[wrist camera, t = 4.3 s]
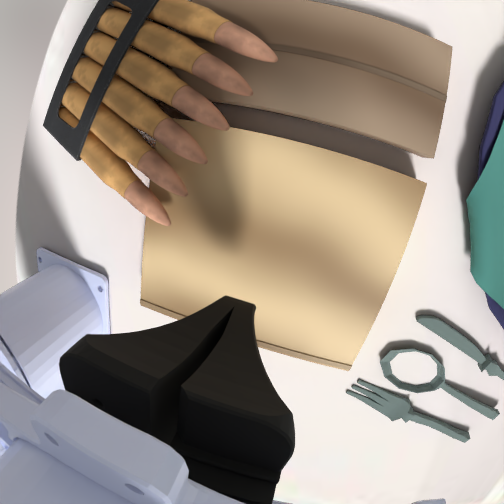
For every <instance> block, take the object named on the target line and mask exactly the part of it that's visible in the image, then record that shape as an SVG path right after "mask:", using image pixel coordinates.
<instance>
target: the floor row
mask: <svg viewBox="0 0 504 504" xmlns="http://www.w3.org/2000/svg"><path fill="white" fill-rule="evenodd" d="M191 2H193V3H196V4H199V5H202V6H204V7H207V8H209V9H211V10H212V11H214V12H215V13H217V14H218V15H219V16H221V17H223V18H225V19H227V20H229V21H231V22H232V23H234V24H236V25H238V26H240V27H242V28H244V29H246V30H248V31H249V32H251V33H253V34H254V35H256V36H257V37H258V38H260V39H261V40H262V41H263V42H265V43H266V44H267V45H268V46H269V47H270V48H271V49H272V50H273V52H274V53H275V54H276V56H277V58H278V61H277V62H265V61H261V60H257V59H253V58H250V57H247V56H244V55H241V54H239V53H236V52H234V51H231V50H229V49H227V48H225V47H223V46H221V45H218V44H215V43H213V42H210V41H208V40H206V39H202V38H198V37H193V36H190V35H187V34H185V33H183V32H181V34H182V35H184V36H186V37H188V38H190V39H191V40H192V41H193V42H194V43H196V44H197V45H198V46H199V47H201V48H203V49H204V50H206V51H208V52H209V53H211V54H212V55H213V56H215V57H217V58H219V59H220V60H222V61H224V62H225V63H226V64H228V65H229V66H230V67H232V68H233V69H234V70H235V71H237V72H238V73H239V74H240V75H241V76H242V77H243V78H244V79H245V81H246V82H247V83H248V84H249V86H250V87H251V89H252V91H253V95H252V96H243V95H238V94H235V93H231V92H228V91H225V90H223V89H220V88H218V87H216V86H214V85H212V84H209V83H207V82H206V81H204V80H202V79H200V78H199V77H197V76H194V75H192V74H190V73H188V72H186V71H184V70H182V69H178V68H174V67H171V70H172V71H173V72H174V73H175V74H176V75H177V76H178V77H179V78H180V79H181V80H183V81H184V82H186V83H187V84H188V85H190V86H191V87H192V88H193V89H195V90H196V91H198V92H199V93H200V94H202V95H203V96H204V97H206V98H207V99H208V100H209V101H211V102H218V103H225V104H232V105H238V106H244V107H249V108H255V109H260V110H265V111H270V112H275V113H280V114H284V115H289V116H293V117H297V118H301V119H306V120H310V121H314V122H317V123H321V124H325V125H329V126H332V127H336V128H339V129H343V130H346V131H349V132H353V133H356V134H359V135H362V136H365V137H368V138H372V139H375V140H377V141H380V142H383V143H386V144H389V145H392V146H395V147H397V148H400V149H403V150H405V151H408V152H411V153H413V154H416V155H418V156H421V157H425V158H434V155H435V151H436V147H437V142H438V138H439V133H440V129H441V124H442V119H443V113H444V108H445V102H446V99H447V89H448V82H449V74H450V66H451V56H452V46H450V45H447V44H445V43H443V42H441V41H439V40H437V39H434V38H432V37H430V36H428V35H425V34H423V33H420V32H418V31H416V30H413V29H410V28H408V27H405V26H402V25H400V24H397V23H394V22H391V21H388V20H385V19H382V18H379V17H376V16H372V15H369V14H366V13H362V12H359V11H355V10H351V9H347V8H343V7H339V6H334V5H330V4H325V3H320V2H314V1H309V0H191Z"/></svg>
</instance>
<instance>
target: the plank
mask: <svg viewBox="0 0 504 504" xmlns="http://www.w3.org/2000/svg"><path fill="white" fill-rule="evenodd" d="M172 119H173V120H174V121H175V122H177V123H178V124H179V125H180V126H182V127H183V128H184V129H185V130H186V131H187V132H188V133H189V134H190V135H191V136H192V137H193V138H194V139H195V140H196V142H197V143H198V144H199V146H200V147H201V148H202V150H203V151H204V153H205V155H206V157H207V160H208V163H207V164H199V163H196V162H192V161H190V160H188V159H186V158H183V157H181V156H179V155H178V154H176V153H174V152H173V151H171V150H169V149H168V148H166V147H165V146H164V145H162V144H161V143H160V142H159V141H157V140H156V144H155V151H156V152H157V153H158V154H159V155H160V156H162V157H163V158H164V159H165V160H166V161H167V162H168V163H169V164H170V166H171V167H172V168H173V169H174V170H175V171H176V173H177V174H178V175H179V177H180V178H181V180H182V181H183V183H184V184H185V186H186V189H187V191H188V195H187V196H186V197H183V196H179V195H176V194H174V193H172V192H170V191H167V190H166V189H164V188H162V187H160V186H159V185H157V184H156V183H155V182H153V181H152V180H150V185H149V189H150V190H151V191H152V192H153V194H154V195H155V196H156V197H157V198H158V200H159V201H160V202H161V204H162V205H163V207H164V208H165V210H166V212H167V213H168V215H169V218H170V220H171V225H170V226H165V225H162V224H160V223H157V222H156V221H154V220H152V219H150V218H149V217H147V216H146V221H145V232H144V245H143V260H142V278H141V299H140V304H141V305H142V306H144V307H147V308H149V309H152V310H154V311H157V312H159V313H162V314H164V315H167V316H170V317H172V318H175V319H178V320H180V319H183V318H185V317H187V316H189V315H191V314H193V313H195V312H197V311H199V310H201V309H203V308H205V307H206V306H208V305H210V304H212V303H213V302H215V301H217V300H218V299H220V298H222V297H223V296H225V295H227V296H230V297H233V298H236V299H240V300H243V301H246V302H249V303H253V304H255V306H256V311H255V315H254V325H255V335H256V341H257V345H258V347H260V348H264V349H267V350H270V351H274V352H277V353H281V354H284V355H288V356H291V357H295V358H299V359H302V360H306V361H310V362H314V363H318V364H321V365H325V366H329V367H334V368H338V369H342V370H346V371H349V370H350V369H351V367H352V364H353V362H354V360H355V359H356V357H357V355H358V353H359V351H360V349H361V347H362V345H363V343H364V341H365V339H366V337H367V335H368V333H369V331H370V329H371V327H372V325H373V323H374V321H375V319H376V317H377V315H378V313H379V311H380V308H381V306H382V304H383V302H384V300H385V297H386V295H387V293H388V291H389V288H390V286H391V284H392V281H393V279H394V276H395V274H396V272H397V269H398V267H399V264H400V262H401V259H402V256H403V254H404V251H405V249H406V246H407V243H408V240H409V238H410V235H411V232H412V229H413V226H414V223H415V220H416V218H417V214H418V211H419V208H420V205H421V202H422V199H423V196H424V192H425V189H426V185H427V183H425V182H422V181H420V180H417V179H415V178H412V177H409V176H407V175H404V174H401V173H398V172H396V171H393V170H390V169H387V168H384V167H382V166H379V165H376V164H373V163H370V162H367V161H363V160H360V159H357V158H354V157H351V156H347V155H344V154H341V153H337V152H334V151H331V150H327V149H323V148H320V147H316V146H312V145H309V144H305V143H301V142H297V141H293V140H289V139H285V138H280V137H276V136H272V135H267V134H263V133H258V132H253V131H248V130H243V129H238V128H233V127H230V128H229V130H227V131H223V130H218V129H214V128H212V127H209V126H206V125H204V124H202V123H200V122H197V121H190V120H183V119H175V118H172Z"/></svg>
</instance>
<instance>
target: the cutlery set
mask: <svg viewBox="0 0 504 504" xmlns="http://www.w3.org/2000/svg"><path fill="white" fill-rule="evenodd" d="M466 202H467V208H468V218H469V223H470V240H471V267H470V272H471V273H472V275H473V277H474V279H475V281H476V283H477V284H478V285H479V286H480V287H481V288H482V289H483V290H484V291H485V294H486V298H487V302H488V306H489V309H490V310H491V311H492V313H493V314H494V316H495V317H496V319H497V320H498V322H499V323H500V325H501V326H502V328H503V329H504V82H503V83H502V85H501V86H500V88H499V89H498V91H497V92H496V94H495V95H494V97H493V101H492V105H491V109H490V113H489V117H488V121H487V124H486V128H485V131H484V135H483V138H482V141H481V145H480V151H479V166H478V178H477V183H476V184H475V186H474V188H473V189H472V191H471V192H470V194H469V196H468V198H467V199H466ZM416 320H417V322H419V323H420V324H422V325H423V326H425V327H426V328H428V329H429V330H431V331H432V332H434V333H435V334H437V335H438V336H440V337H442V338H443V339H444V340H446V341H447V342H449V343H450V344H452V345H453V346H455V347H456V348H458V349H459V350H461V351H462V352H464V353H465V354H467V355H468V356H470V357H471V358H473V359H474V360H476V361H477V362H478V366H479V368H480V370H481V372H482V371H483V370H484V369H485V370H487V372H488V374H489V376H498V377H500V378H501V379H503V380H504V371H502V370H501V369H500V367H499V365H498V364H497V362H496V360H492V358H491V357H490V355H489V353H488V354H486V355H485V356H484V355H483V354H482V352H481V351H480V350H479V349H478V348H477V347H476V345H475V344H474V343H473V342H471V341H470V340H469V339H468V338H466V337H465V336H464V335H462V334H461V333H460V332H458V331H457V330H456V329H454V328H453V327H451V326H450V325H448V324H447V323H445V322H444V321H442V320H441V319H439V318H437V317H435V316H431V315H420V316H417V317H416ZM412 351H417V352H420V353H423V354H427V355H430V356H431V358H432V359H433V360H434V361H435V362H436V363H437V376H436V377H435V378H434V379H433V380H432V381H431V382H430V383H426V384H421V385H411V384H406V383H402V382H401V381H400V380H399V379H398V378H396V377H395V376H394V375H393V374H392V370H391V366H390V361H391V360H392V359H393V358H394V357H395V356H396V355H397V354H398V353H403V352H412ZM380 364H381V367H382V370H383V373H384V377H385V378H387V379H388V380H389V381H390V382H392V383H393V384H394V385H395V386H396V387H398V388H399V389H403V390H407V391H411V392H415V393H421V392H428V391H434V390H437V389H439V388H442V389H443V390H445V391H446V392H448V393H449V394H451V395H452V396H454V397H455V398H457V399H459V400H460V401H462V402H463V403H465V404H466V405H467V406H469V407H471V408H472V409H474V410H476V411H478V412H479V413H481V414H483V415H485V416H486V417H488V418H490V419H492V420H493V419H495V418H496V417H497V416H498V415H499V414H500V413H499V411H498V409H494V408H493V407H490V406H488V405H486V404H484V403H482V402H480V401H477V400H475V399H473V398H471V397H470V396H468V395H466V394H464V393H463V392H461V391H459V390H457V389H455V388H453V387H452V386H450V385H448V384H447V383H445V369H444V367H443V365H442V364H441V363H440V362H439V361H438V360H437V359H436V358H435V357H434V356H433V355H432V354H430V353H426V352H423V351H420V350H417V349H402V350H390V351H389V352H388V354H387V355H386V356H385V357H384V358H383V359H382V360H381V361H380ZM357 383H359V384H361V385H363V386H365V387H367V388H369V389H370V390H372V391H374V392H375V393H373V392H371V391H368V390H366V389H363V388H361V387H358V386H356V385H353V386H352V388H353V389H355V390H357V391H359V392H361V393H363V394H365V395H366V396H368V397H370V398H371V399H370V398H367V397H365V396H362V395H360V394H357V393H355V392H352V391H350V390H347V391H346V393H347V394H349V395H351V396H354V397H356V398H357V399H359V400H361V401H363V402H364V403H366V404H368V405H369V406H371V407H372V408H374V409H376V410H377V411H379V412H381V413H382V414H384V415H385V416H387V417H389V418H390V419H391V421H394V420H397V419H400V418H402V419H403V420H404V421H405V423H406V422H407V421H409V420H411V421H414V422H416V423H419V424H423V425H426V426H429V427H431V428H433V429H436V430H438V431H440V432H442V433H444V434H446V435H448V436H450V437H452V438H454V439H457V440H460V441H462V442H464V443H465V442H466V441H468V440H469V439H470V436H469V432H466V431H462V430H460V429H457V428H455V427H453V426H451V425H449V424H447V423H444V422H442V421H440V420H437V419H435V418H433V417H430V416H427V415H423V414H421V413H418V412H415V411H413V407H411V405H410V400H409V399H407V398H405V397H401V396H399V395H397V394H394V393H392V392H389V391H387V390H384V389H382V388H379V387H377V386H375V385H372V384H370V383H367V382H365V381H363V380H360V379H359V380H358V381H357ZM376 393H377V394H376Z"/></svg>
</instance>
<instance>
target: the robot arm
mask: <svg viewBox="0 0 504 504" xmlns="http://www.w3.org/2000/svg"><path fill="white" fill-rule="evenodd" d="M37 263H38V273H36V274H34V275H33V276H31V277H29V278H27V279H25V280H24V281H22V282H20V283H18V284H17V285H15V286H13V287H11V288H10V289H8V290H6V291H5V292H3V293H1V294H0V504H291V503H285V502H280V501H275V500H273V497H274V493H275V488H276V484H277V483H278V482H279V479H280V474H281V470H282V469H283V468H284V466H285V465H286V464H287V462H288V461H289V459H290V458H291V457H292V454H293V452H294V448H295V429H294V421H293V414H292V412H291V411H290V410H289V408H288V407H287V406H286V405H285V403H284V402H283V401H282V400H281V398H280V397H279V395H278V393H277V392H276V390H275V389H274V387H273V385H272V383H271V381H270V379H269V377H268V375H267V373H266V371H265V368H264V366H263V363H262V360H261V357H260V354H259V350H258V345H257V341H256V335H255V325H254V315H255V311H256V306H255V304H253V303H249V302H246V301H243V300H240V299H236V298H233V297H230V296H227V295H225V296H223V297H222V298H220V299H218V300H217V301H215V302H213V303H212V304H210V305H208V306H206V307H205V308H203V309H201V310H199V311H197V312H195V313H193V314H191V315H189V316H187V317H185V318H183V319H180V320H178V321H175V322H173V323H170V324H166V325H163V326H160V327H156V328H151V329H147V330H142V331H137V332H130V333H120V334H110V319H109V295H108V280H107V278H106V277H105V276H104V275H103V274H100V273H98V272H95V271H93V270H91V269H89V268H86V267H84V266H82V265H79V264H77V263H75V262H73V261H70V260H68V259H66V258H64V257H62V256H59V255H57V254H55V253H53V252H51V251H49V250H46V249H44V248H42V247H40V248H38V249H37ZM101 287H102V288H103V289H102V288H101ZM412 504H446V501H445V499H433V500H422V501H417V502H414V503H412Z"/></svg>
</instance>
